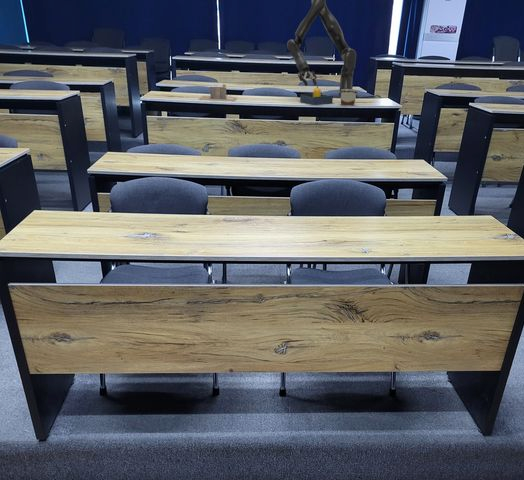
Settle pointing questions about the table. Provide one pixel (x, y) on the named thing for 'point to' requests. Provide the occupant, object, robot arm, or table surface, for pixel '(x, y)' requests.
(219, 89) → the ruin model on sheet
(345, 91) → the food container
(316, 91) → the pepper
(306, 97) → the crate
